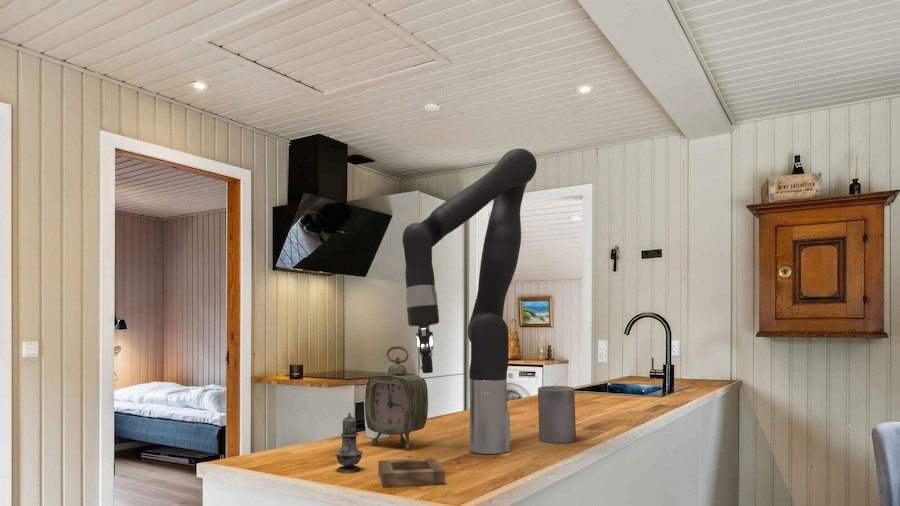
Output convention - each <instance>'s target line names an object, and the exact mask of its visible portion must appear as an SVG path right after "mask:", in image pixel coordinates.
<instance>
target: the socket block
mask: <svg viewBox="0 0 900 506" xmlns="http://www.w3.org/2000/svg"><path fill="white" fill-rule="evenodd" d="M377 468H378V476H379V479H380V482H381V485H382V486H381V487H382V488H393V487H394V488H396V487H411V486H412V487H415V486H419V487H420V486H434V485H435V486H436V485H437V486H438V485H446V471H445V469H444V468H443V467H442V465H441V463H440V462H439V461H438V460H437V459H436V457H435V458H432V457H431V458H429V457H428V458H412V459H411V458H410V459H409V458H408V459H406V458H405V459H386V460H378V467H377Z"/></svg>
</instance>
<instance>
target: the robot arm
mask: <svg viewBox="0 0 900 506" xmlns="http://www.w3.org/2000/svg"><path fill="white" fill-rule="evenodd" d="M537 166H538V165H537V159H536V157H535V155H534V154H533V153H532V152H531V151H529V150H527V149H524V148H514V149H510V150H508V151H507V152H505V153H504V154H503V156H502V157H501V158H500V159H499V161H498V162H497V163H496V165H495V166H494V167H492V168H491V169H490V170H489V171H488V172H487V173H485V174H484V175H483V176H481V177H480V178H479V179H478V180H475V182H473V183H472V184H470V185H469V186H466V188H464V189H463V190H461V191H459V192H458V193H456V194H455V195H453V196H452V197H450V198H448V199H447V200H446V201H445V202H443V203H442V204H440V205H439V206H438V207H436V208H435V209H434V210H432V211H431V213H430V215H429V216H428V217H426V218H425V219H423V220H422V221H421V222H413V223H410V224H408V225H407V226H406V227H405V229H404V231H403V232H402V246H403V252H404V261H405V270H404V271H405V284H406V286H405V287H406V293H405V294H406V295H405V299H406V312H407V323H408V326H409V327H418V328H417V333H416V335H415V336H416V341H417V349H418V350H419V351H418V352H419V356H420V358H421V370H422V373H423V374H432V373H433V372H434V369H433V355H434V354H433V353H434V352H433V350H434V332H433V331H431V330H430V326H433V325H438V324H439V323H440V317H439V316H440V314H439V304H438V303H439V302H438V293H437V290H436V283H435V282H436V281H435V280H436V279H435V273H434V272H435V271H434V267H433V247H435V245H437V244H438V243H439V242H440V241H441V240H442V239H443V238H445V237H446V236H447V235H448V234H450V233H452V232H454V231H455V230H457V229H458V228H460V227H461V226H462V225H463V224H465V223H466V222H467V221H468V220H470V219H472V217H474V216H475V215H476V214H478V213H479V212H480V211H481V210H483V209H484V207H486V206H488V205H489V203H492V207H491V210H490V211H491V212H490V214H489V219H488V223H487V226H486V231H485V235H484V239H483V240H484V241H483V246H482V252H481V259H480V264H479V265H480V266H479V273H478V274H479V275H478V285H477V286H478V287H477V294H476V297H475V298H476V299H475V302H474V306H473V310H472V313H471V316H470V319H469V323H468V326H467V337H468V339H469V342H470V352H471V353H470V365H469V369H468V371H469V373H468V374H469V375H468V377H469V390H468V391H469V452H471V453H476V454H481V455H482V454H483V455H484V454H486V455H491V454H492V455H494V454H495V455H497V454H504V453H510V452H511V427H510V426H511V425H510V424H511V421H510V419H511V418H510V417H511V416H510V415H511V414H510V411H509V410H508V378H507V377H508V368H509V361H510V360H509V359H510V357H509V352H510V351H509V347H510V345H509V344H510V342H509V341H510V340H509V337H510V335H509V334H510V333H509V327H508V325H507V322H506V321H505V320H504V309H505V301H506V297H507V293H508V291H509V288H510V286H511V283H512V280H513V278H514V275H515V272H516V269H517V265H518V261H519V256H520V252H521V251H520V250H521V244H522V225H521V222H522V221H521V207H522V201H523V198H524V194H525V191H526V187H527V184H528V183H529V182H530V181H531V180H532V179H533V177H534V176H535V174H536V172H537ZM492 201H493V202H492Z"/></svg>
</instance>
